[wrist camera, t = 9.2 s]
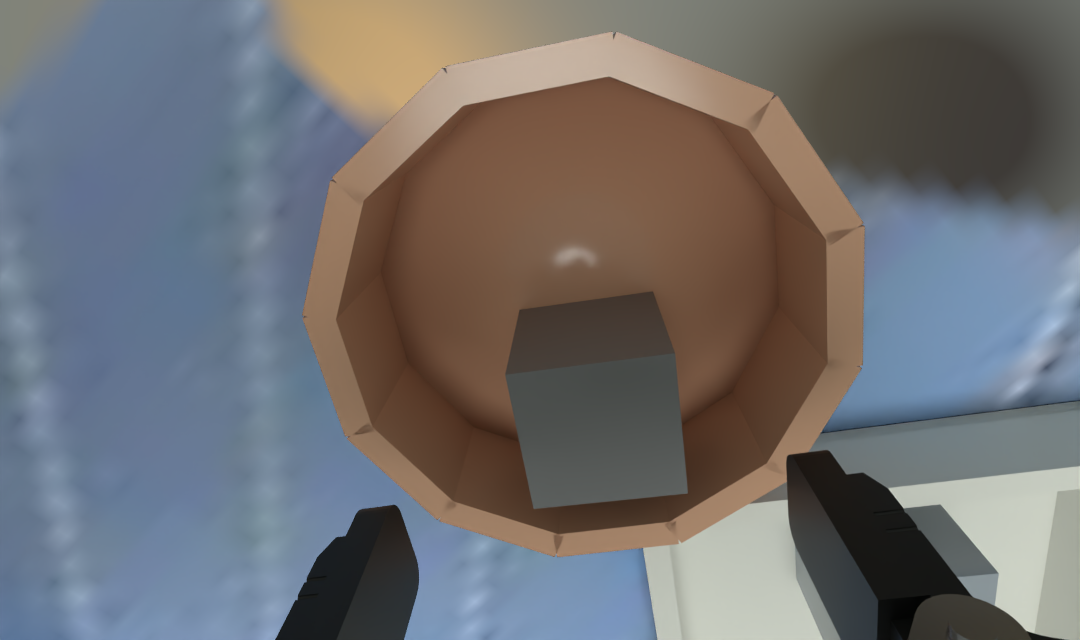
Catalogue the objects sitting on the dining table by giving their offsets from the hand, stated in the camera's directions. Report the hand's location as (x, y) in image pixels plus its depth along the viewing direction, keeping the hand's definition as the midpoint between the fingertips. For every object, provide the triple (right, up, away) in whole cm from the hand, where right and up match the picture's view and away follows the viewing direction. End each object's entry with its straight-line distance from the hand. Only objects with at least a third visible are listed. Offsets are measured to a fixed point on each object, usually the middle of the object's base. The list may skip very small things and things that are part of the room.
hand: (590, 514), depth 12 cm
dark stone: (+1, +3, +6) cm, 7 cm away
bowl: (0, +5, +6) cm, 8 cm away
